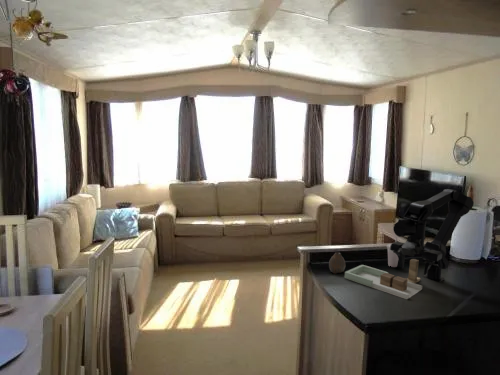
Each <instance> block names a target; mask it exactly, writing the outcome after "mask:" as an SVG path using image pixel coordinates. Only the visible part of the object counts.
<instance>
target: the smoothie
mask: <svg viewBox="0 0 500 375" xmlns="http://www.w3.org/2000/svg"><path fill="white" fill-rule="evenodd" d="M397 239H398V236H395V240H394V241H395V242H398V240H397ZM395 242H394V243H395ZM391 244H392V243H388V244H386V248H387V264H388V265H387V266H389V267H390V266H391V268H397V267H398V264H399V258H398V256H397V255H396V253H394V252H393V251H392V250H390V246H391Z"/></svg>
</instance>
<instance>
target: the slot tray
mask: <svg viewBox="0 0 500 375" xmlns="http://www.w3.org/2000/svg"><path fill="white" fill-rule="evenodd" d="M384 273H388V274H390V273H389V272H388V271H385V270H381V269H378V268H375V267H371V266H368V265H366V264H365V265H364V264H360V265H358V266H356V267H353V268H351V269H348V270H346V271H344V279H346V280H349V281H353V282H354V283H355V282H356V283H358V284H361V285H362V286H363V285H364V286H367V287H369V288H372V289H375V290H378V291H381V292H385V293H387V294H390V295H393V296H396V297H398V298H402V299H404V300H408V299H410V298H412V297H413V296H415V295H416V294H417V293H419V292H420V291H422V290H423V285H421V284H418V283H412V282H409V281H407V289H406V290H404V291H403V292H402V291H399V290H396V289H393V288H392V287H387V286H384V285H381V284H380V277H381V275H382V274H384Z"/></svg>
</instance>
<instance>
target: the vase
mask: <svg viewBox="0 0 500 375" xmlns="http://www.w3.org/2000/svg"><path fill="white" fill-rule="evenodd" d="M328 268H329V270H330V272H331V273H333V274H334V275H335V274H338V273H339V274H340V273H344V272H345V270H346V260H345V259H344V257H343V256H342V253H341V252H335V253H334V254H333V255H332V256H331V258H330V259H329V262H328Z"/></svg>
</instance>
